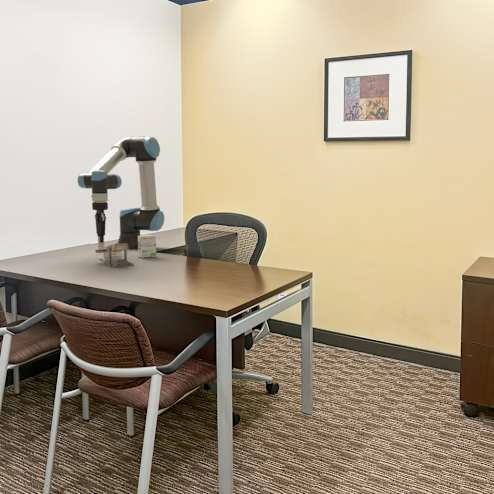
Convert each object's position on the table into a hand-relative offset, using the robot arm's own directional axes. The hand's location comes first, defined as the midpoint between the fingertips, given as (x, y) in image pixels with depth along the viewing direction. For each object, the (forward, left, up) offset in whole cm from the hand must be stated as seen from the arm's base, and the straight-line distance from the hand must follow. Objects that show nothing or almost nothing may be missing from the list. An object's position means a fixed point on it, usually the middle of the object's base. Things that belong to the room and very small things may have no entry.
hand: (101, 248), depth 283 cm
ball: (-7, -6, -6) cm, 11 cm away
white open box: (-7, -8, -7) cm, 12 cm away
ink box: (-26, -5, -7) cm, 27 cm away
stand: (-7, +7, -7) cm, 12 cm away
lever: (-4, +7, -1) cm, 8 cm away
